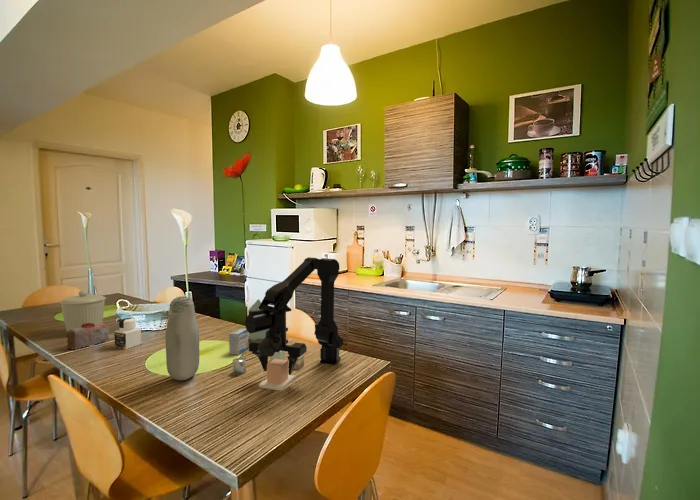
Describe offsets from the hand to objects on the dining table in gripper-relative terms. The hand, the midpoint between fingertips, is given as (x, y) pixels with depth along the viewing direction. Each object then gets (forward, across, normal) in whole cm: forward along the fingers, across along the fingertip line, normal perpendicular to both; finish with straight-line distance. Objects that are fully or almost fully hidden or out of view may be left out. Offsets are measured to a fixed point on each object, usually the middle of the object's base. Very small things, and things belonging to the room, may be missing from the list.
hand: (277, 372), depth 112 cm
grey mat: (+3, 0, 0) cm, 3 cm away
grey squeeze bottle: (+3, -32, -7) cm, 33 cm away
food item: (+4, -98, +8) cm, 98 cm away
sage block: (+3, -10, +18) cm, 21 cm away
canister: (+3, -118, +20) cm, 120 cm away
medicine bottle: (+3, -80, +12) cm, 81 cm away
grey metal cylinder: (+3, -17, +3) cm, 18 cm away
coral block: (+2, 0, 0) cm, 2 cm away
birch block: (+3, 0, +14) cm, 14 cm away
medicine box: (+4, -30, +21) cm, 37 cm away
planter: (+4, -27, +37) cm, 46 cm away
